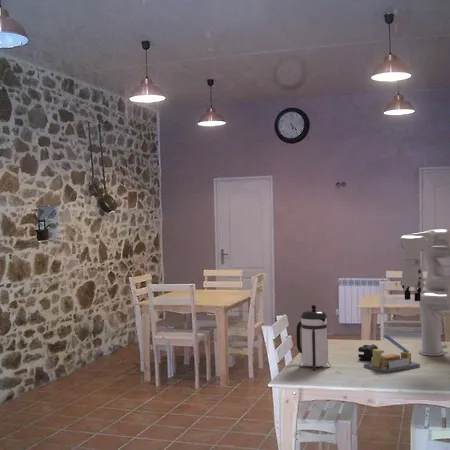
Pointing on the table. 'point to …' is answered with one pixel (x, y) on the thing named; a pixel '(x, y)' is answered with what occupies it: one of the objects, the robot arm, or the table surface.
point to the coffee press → (313, 338)
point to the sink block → (390, 362)
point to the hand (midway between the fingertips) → (412, 299)
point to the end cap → (366, 352)
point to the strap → (396, 344)
